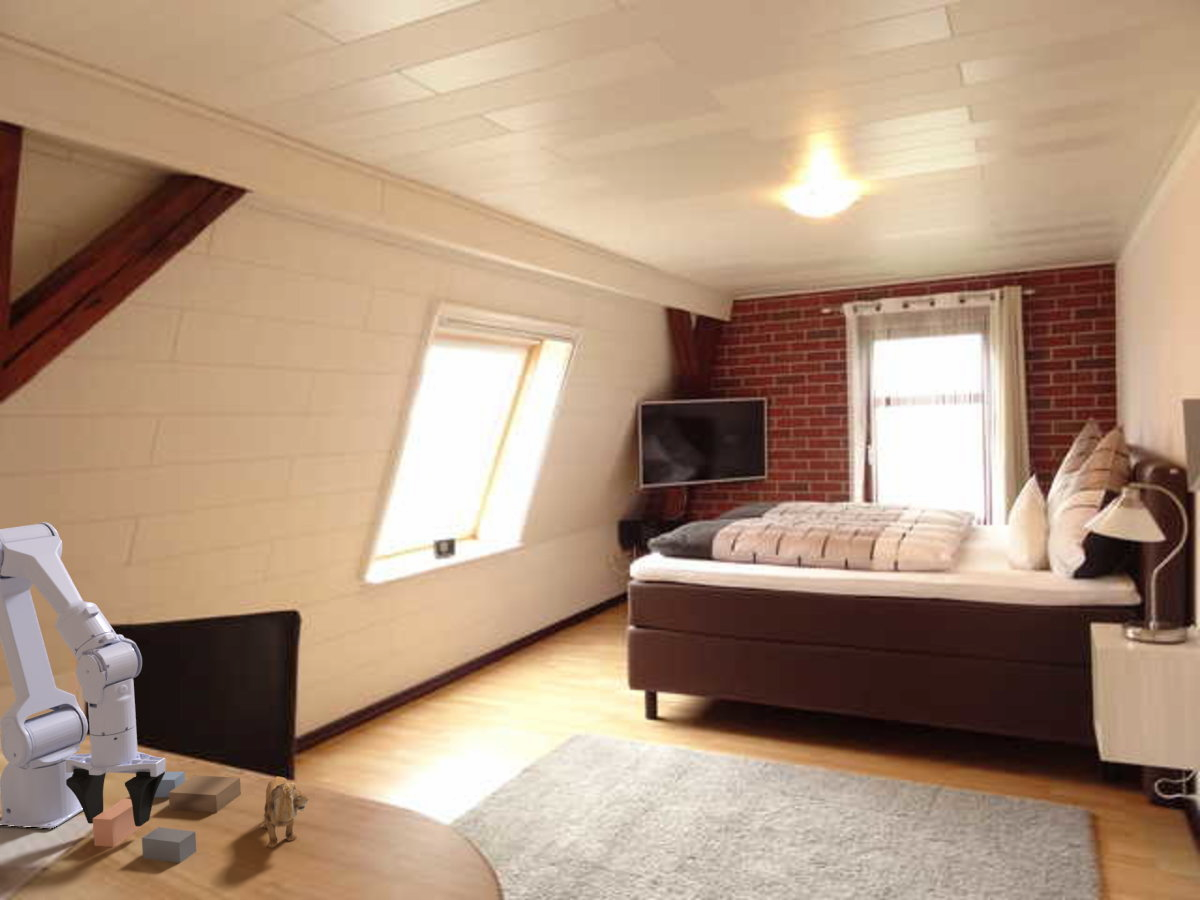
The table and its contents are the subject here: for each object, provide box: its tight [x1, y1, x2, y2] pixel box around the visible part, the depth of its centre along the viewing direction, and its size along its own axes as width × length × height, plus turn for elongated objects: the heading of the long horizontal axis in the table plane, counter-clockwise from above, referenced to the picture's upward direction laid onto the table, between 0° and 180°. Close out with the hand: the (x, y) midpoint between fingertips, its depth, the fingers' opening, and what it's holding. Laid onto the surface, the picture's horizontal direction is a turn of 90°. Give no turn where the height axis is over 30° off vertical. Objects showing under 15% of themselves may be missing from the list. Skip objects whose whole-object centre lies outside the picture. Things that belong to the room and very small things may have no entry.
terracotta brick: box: [92, 798, 145, 848], centre depth 121 cm, size 3×6×4 cm, turn 170°
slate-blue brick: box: [154, 771, 186, 798], centre depth 134 cm, size 6×3×3 cm, turn 87°
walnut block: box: [168, 774, 242, 813], centre depth 131 cm, size 8×6×3 cm
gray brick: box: [141, 826, 197, 864], centre depth 115 cm, size 6×3×3 cm, turn 76°
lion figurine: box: [262, 776, 310, 848], centre depth 120 cm, size 15×5×9 cm, turn 34°
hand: (118, 821), depth 121 cm, fingers open, 7 cm apart
